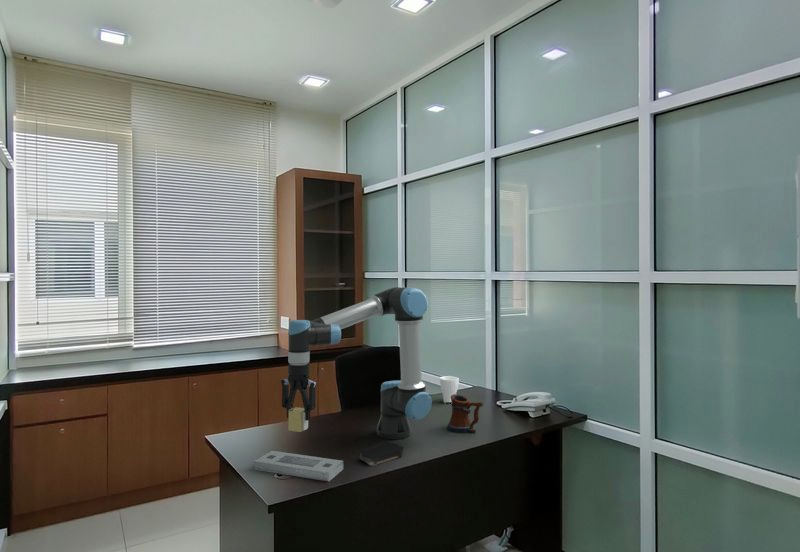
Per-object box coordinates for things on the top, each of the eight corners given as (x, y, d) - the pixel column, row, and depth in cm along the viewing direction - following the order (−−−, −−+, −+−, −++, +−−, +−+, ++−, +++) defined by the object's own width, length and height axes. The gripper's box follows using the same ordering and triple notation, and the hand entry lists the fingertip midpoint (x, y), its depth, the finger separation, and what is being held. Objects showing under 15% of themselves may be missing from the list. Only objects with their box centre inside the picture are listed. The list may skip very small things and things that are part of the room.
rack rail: (343, 469, 172) (343, 460, 172) (329, 481, 162) (329, 472, 162) (271, 458, 182) (271, 450, 182) (254, 469, 171) (254, 460, 171)
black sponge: (391, 451, 191) (391, 441, 191) (405, 457, 184) (405, 447, 184) (357, 461, 180) (357, 451, 180) (370, 468, 174) (370, 457, 174)
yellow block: (307, 427, 173) (308, 408, 173) (300, 432, 168) (300, 412, 168) (295, 426, 175) (296, 407, 175) (288, 430, 170) (288, 410, 170)
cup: (461, 401, 266) (461, 377, 266) (455, 406, 256) (455, 380, 256) (443, 399, 270) (443, 375, 270) (436, 403, 260) (437, 379, 260)
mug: (489, 432, 213) (490, 398, 213) (474, 438, 205) (474, 403, 205) (457, 423, 226) (457, 391, 226) (442, 428, 218) (442, 396, 218)
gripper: (326, 363, 172) (325, 428, 172) (283, 360, 178) (282, 422, 178) (316, 366, 165) (315, 434, 165) (271, 363, 171) (270, 428, 171)
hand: (298, 428), depth 172 cm, fingers closed on yellow block, 5 cm apart
